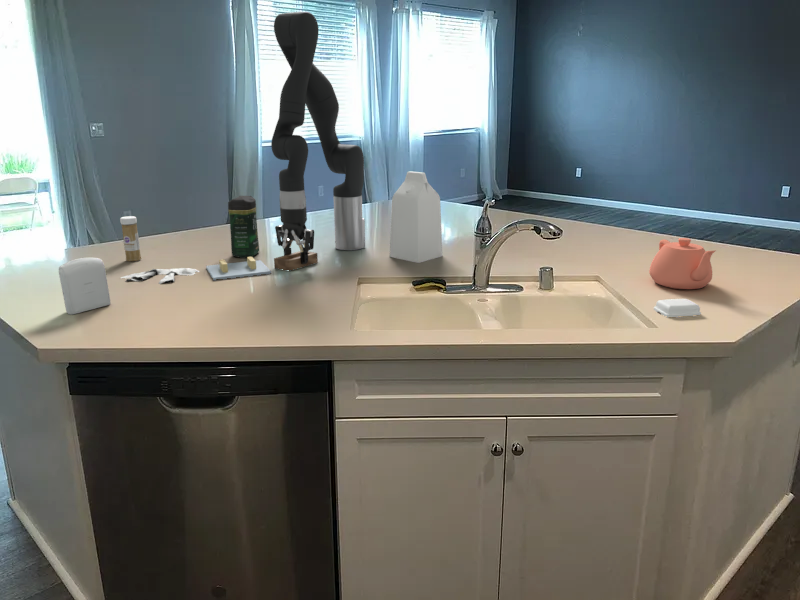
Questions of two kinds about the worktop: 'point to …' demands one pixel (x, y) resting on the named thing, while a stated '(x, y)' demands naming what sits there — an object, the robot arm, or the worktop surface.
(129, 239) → the sprinkles bottle
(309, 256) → the frame
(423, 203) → the milk
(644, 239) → the worktop surface
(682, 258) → the teapot
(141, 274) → the cloth
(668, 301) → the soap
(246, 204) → the coffee jar
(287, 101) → the robot arm
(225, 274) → the panel
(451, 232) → the worktop surface
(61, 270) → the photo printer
